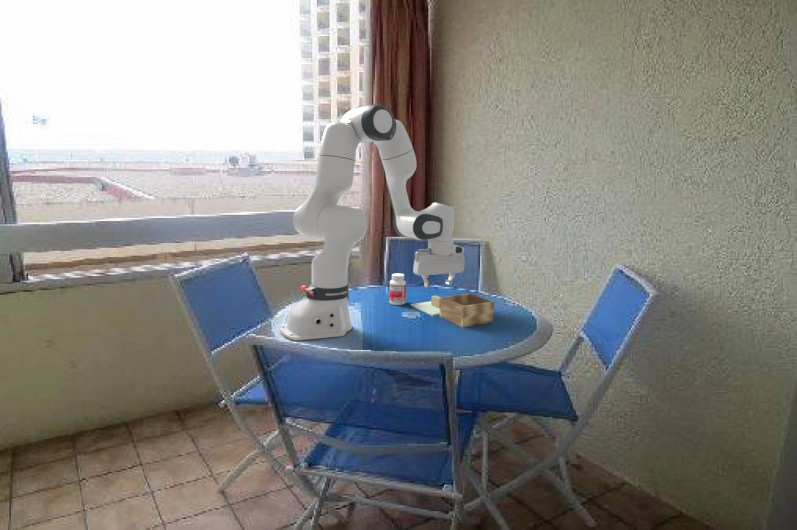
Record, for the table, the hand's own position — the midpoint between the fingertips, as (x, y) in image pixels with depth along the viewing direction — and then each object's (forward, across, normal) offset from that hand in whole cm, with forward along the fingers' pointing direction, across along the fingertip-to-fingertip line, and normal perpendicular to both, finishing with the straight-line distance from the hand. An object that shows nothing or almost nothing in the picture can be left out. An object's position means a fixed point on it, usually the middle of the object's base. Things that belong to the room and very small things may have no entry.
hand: (438, 285), depth 185 cm
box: (+9, +2, -15) cm, 17 cm away
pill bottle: (+9, -9, +12) cm, 18 cm away
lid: (+9, +1, +1) cm, 9 cm away
